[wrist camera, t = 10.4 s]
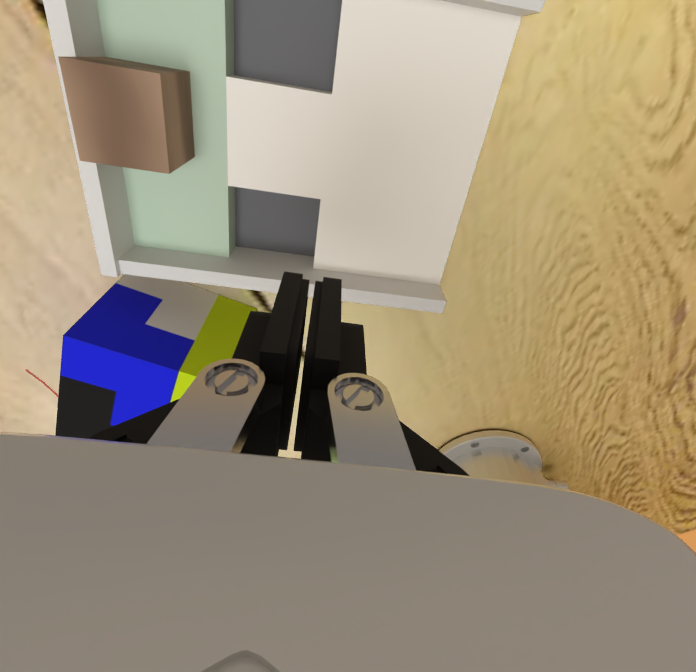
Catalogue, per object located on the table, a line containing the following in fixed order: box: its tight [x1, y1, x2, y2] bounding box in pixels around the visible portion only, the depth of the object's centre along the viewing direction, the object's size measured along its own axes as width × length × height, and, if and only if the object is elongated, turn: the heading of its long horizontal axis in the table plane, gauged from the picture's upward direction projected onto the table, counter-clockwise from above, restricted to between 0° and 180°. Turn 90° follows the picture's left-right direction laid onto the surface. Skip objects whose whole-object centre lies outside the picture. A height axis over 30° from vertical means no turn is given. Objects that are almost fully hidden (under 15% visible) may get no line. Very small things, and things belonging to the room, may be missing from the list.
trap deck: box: [43, 0, 545, 313], centre depth 25 cm, size 23×18×6 cm
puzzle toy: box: [56, 274, 257, 439], centre depth 32 cm, size 10×10×10 cm
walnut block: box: [58, 56, 195, 174], centre depth 22 cm, size 4×4×4 cm
